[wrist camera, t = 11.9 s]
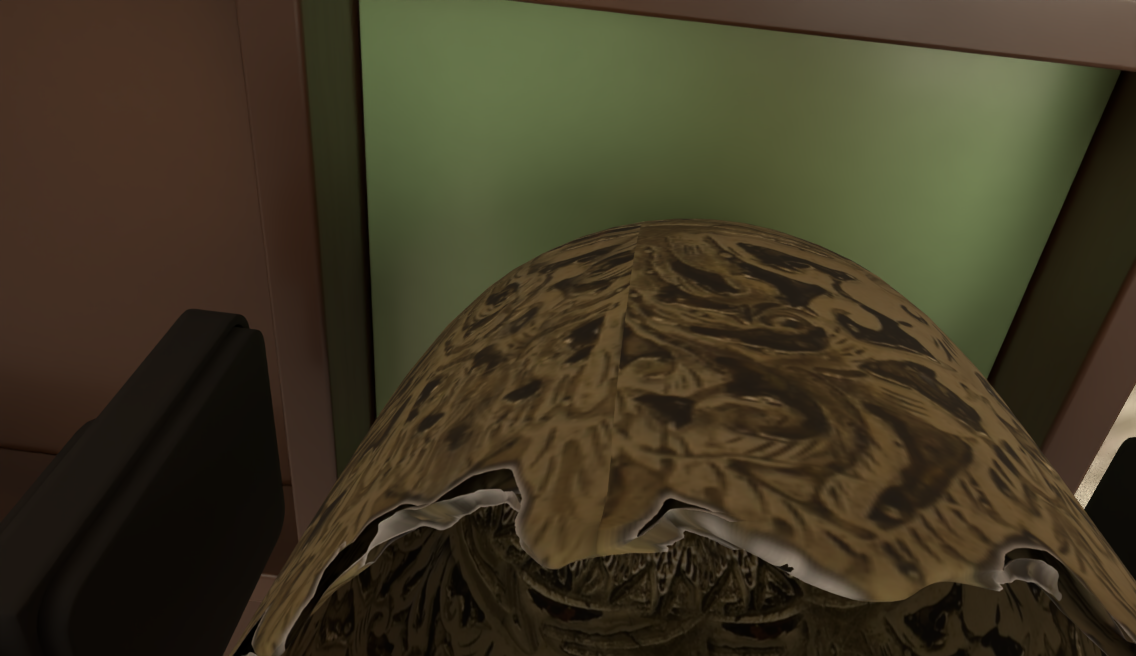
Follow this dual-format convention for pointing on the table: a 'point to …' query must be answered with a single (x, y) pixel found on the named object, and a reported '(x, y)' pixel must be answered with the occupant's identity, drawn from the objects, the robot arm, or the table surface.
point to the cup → (696, 477)
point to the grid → (544, 185)
